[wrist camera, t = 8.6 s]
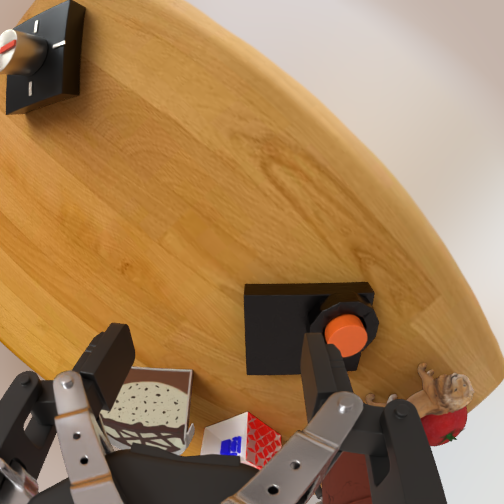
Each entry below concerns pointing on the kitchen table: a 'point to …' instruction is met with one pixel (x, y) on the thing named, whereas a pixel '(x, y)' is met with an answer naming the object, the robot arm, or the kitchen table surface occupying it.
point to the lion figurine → (437, 393)
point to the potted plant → (346, 482)
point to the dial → (21, 53)
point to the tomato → (444, 426)
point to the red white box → (242, 440)
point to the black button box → (299, 321)
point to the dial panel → (50, 60)
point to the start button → (346, 334)
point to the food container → (152, 410)
